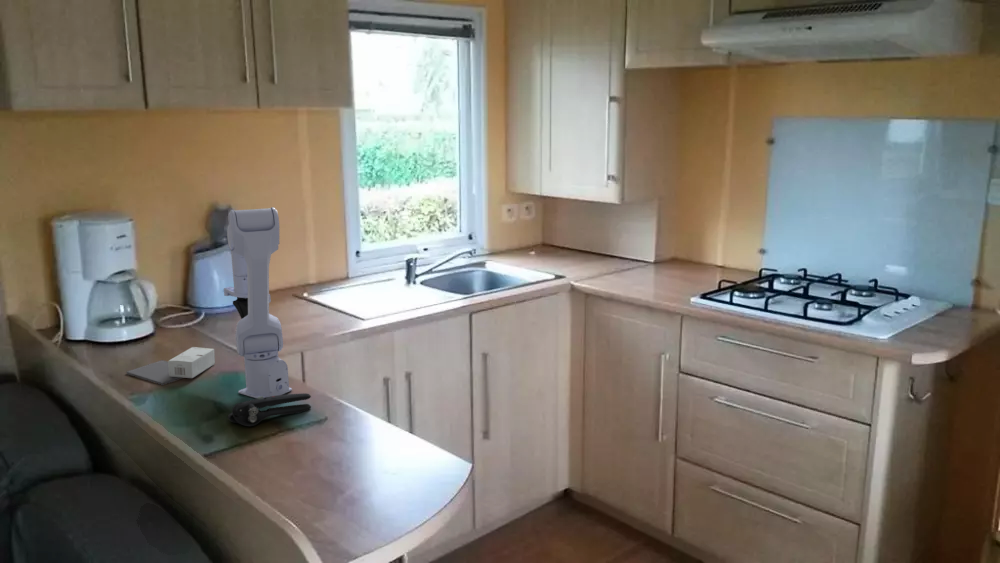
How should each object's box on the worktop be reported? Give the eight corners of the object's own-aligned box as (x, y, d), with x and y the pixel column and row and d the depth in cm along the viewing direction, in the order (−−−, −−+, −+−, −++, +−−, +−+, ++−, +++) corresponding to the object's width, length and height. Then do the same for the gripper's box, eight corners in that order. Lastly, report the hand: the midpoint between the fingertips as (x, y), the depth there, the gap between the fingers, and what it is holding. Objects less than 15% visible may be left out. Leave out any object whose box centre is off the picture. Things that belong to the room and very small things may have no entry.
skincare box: (167, 360, 190) (191, 345, 202) (168, 378, 191) (191, 362, 203) (192, 362, 190) (214, 346, 202) (193, 380, 191) (215, 363, 203)
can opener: (236, 434, 163) (234, 408, 162) (225, 422, 169) (223, 397, 168) (318, 414, 173) (317, 389, 172) (305, 403, 179) (304, 380, 178)
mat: (198, 372, 197) (198, 370, 197) (162, 385, 189) (162, 382, 189) (162, 362, 204) (162, 360, 204) (126, 374, 196) (126, 371, 196)
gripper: (278, 274, 195) (282, 327, 198) (238, 267, 202) (242, 318, 206) (256, 280, 189) (260, 335, 192) (215, 272, 196) (219, 325, 200)
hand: (249, 327), depth 199 cm, fingers closed
